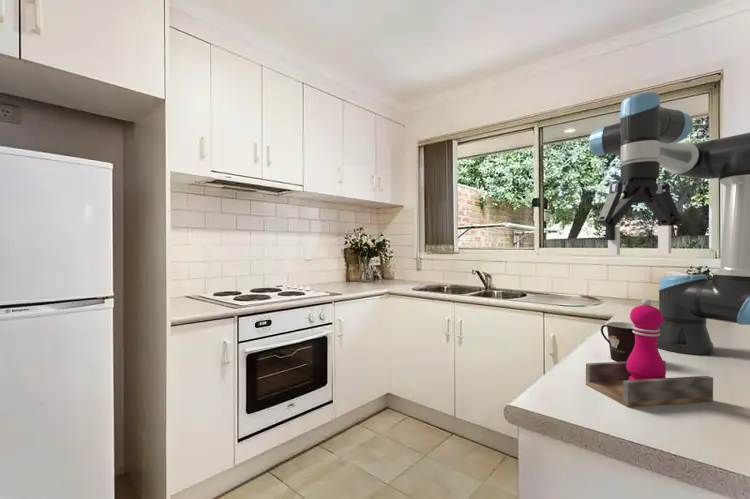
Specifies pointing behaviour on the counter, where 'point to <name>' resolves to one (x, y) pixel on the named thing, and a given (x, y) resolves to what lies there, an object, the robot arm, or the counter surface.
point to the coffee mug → (620, 340)
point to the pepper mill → (646, 343)
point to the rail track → (646, 386)
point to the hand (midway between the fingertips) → (639, 254)
